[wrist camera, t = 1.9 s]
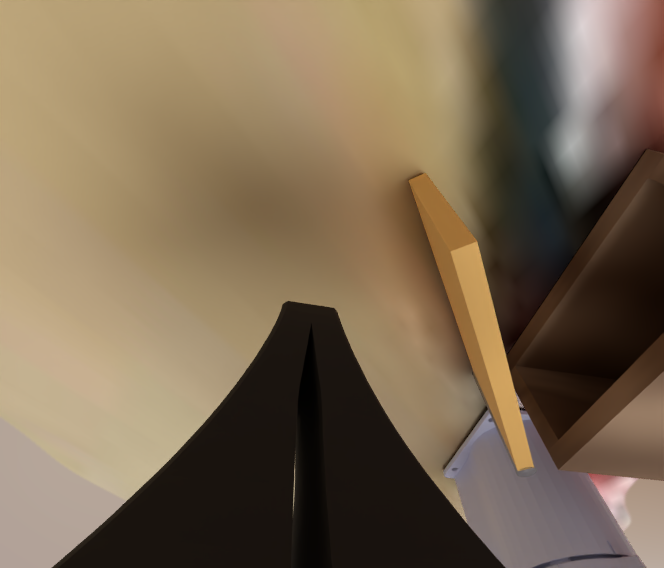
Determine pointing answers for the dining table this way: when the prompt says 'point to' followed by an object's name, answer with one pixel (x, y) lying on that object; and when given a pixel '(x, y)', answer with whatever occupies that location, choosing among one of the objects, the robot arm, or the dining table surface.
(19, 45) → the dining table surface
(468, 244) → the cabinet door
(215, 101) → the dining table surface
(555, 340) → the cabinet
